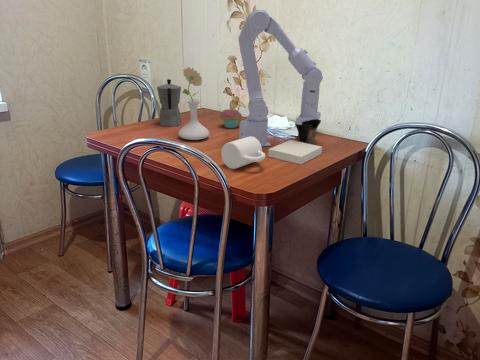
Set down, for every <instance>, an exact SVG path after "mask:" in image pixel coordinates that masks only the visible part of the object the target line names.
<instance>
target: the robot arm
mask: <svg viewBox="0 0 480 360" xmlns="http://www.w3.org/2000/svg"><path fill="white" fill-rule="evenodd" d="M263 32H264V33H267V34H269V35H272V36H273V38H274V39H275V40H276V41H277V42H278V43H279V45H280V46H281V47H282V48H283V49H284V50H285V51H286V52H287V54H288V57H287V59H288V62H289V63H290V64H291V66H293V68H294V70H296V71H297V73H298V74H299V75H301V78H302V80H304V81H303V83H302V88H301V89H302V90H301V91H302V92H301V93H302V94H301V104H300V114H299V115H298V116H297V117H296V118H295V122H294V125H295V128H296V131H297V132H298V133H299V139H300V142H303V143H306V141H307V137H308V132H309V130H310V127H313V128H316V130H317V129H318V127H319V125H320V124H321V122H322V121H321V112H320V111H318V109H319V98H320V86H321V82H322V81H323V78H324V76H323V74H322V70H320V69H319V68H318V67H317V66H316V65H317V63H316V62H315V61H313V60H312V58H311V57H309V55H308V50H306V49H303V48H302V47H296V45H295V44H294V42H293V41H292V40H291V39H290V38H289V36H288V34H286V32H285V31H284V29H283V28H282V26H281V25H280V24H279V23H278V22H277V21H276V19H274V18H273V17H272V16H270V15H269V13H268V12H267V11H266V10H265V9H260V8H259V9H254V10H252V11H251V12H250V13H249V14H248V16H247V17H246V18H245V19H244V23H243V26H242V27H241V30H240V33H239V35H238V45H239V50H240V56H241V62H242V66H243V71H244V76H245V81H246V88H247V93H248V98H249V101H248V104H247V109H248V111H249V114H248V115H247V116H246V119H242V120H241V119H240V122H239V133H238V134H239V135H238V136H239V137H238V138H239V139H242V138H246V137H249V136H252V137H255V138H256V139H257V140H258V141H259V142H260V144H261V146H262V147H270V146H271V143H270V142H268V125H269V117H268V115H269V107H268V106H267V104H266V102H265V100H264V96H263V92H262V91H263V90H262V85H261V81H260V75H259V69H258V65H257V57H256V52H255V46H254V42H255V41H256V39H257V38H258V36H259V35H260V34H261V33H263ZM298 133H297V134H298ZM239 139H238V140H239Z"/></svg>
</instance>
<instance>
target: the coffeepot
mask: <svg viewBox="0 0 480 360" xmlns="http://www.w3.org/2000/svg"><path fill="white" fill-rule="evenodd" d="M171 82H172V79H170V78H168V79H166V83H165V84H160V85H159V86H156V88H157V89H156V90H157V93H158V98H159V103H160V105H161V108H160V112H159V119H158V120H159V121H158V124H159V126H161V127H166V128H167V127H169V128H170V127H172V128H173V127H178V126H181V125H182V124H183V122H182V121H183V120H182V116H181V112H180V108H179V104H180V99H181V92H182V87H181V86H179V85H177V84H174V83H171Z"/></svg>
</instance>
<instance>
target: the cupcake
mask: <svg viewBox="0 0 480 360" xmlns="http://www.w3.org/2000/svg"><path fill="white" fill-rule="evenodd" d="M235 104H236V99H233V103H232V109H231V108H229V109H224V110H223V111H221V112H220V114H219V118H220V119H221V120H222V122H223V125H224V128H226V129H227V128H228V129H234V128H237V126H238V123H239V121H240V120H241V119H242V114H241V112H240V111H239V110H237V109H235Z"/></svg>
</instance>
